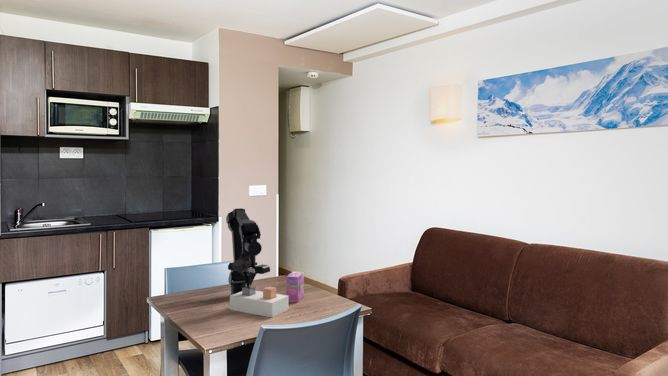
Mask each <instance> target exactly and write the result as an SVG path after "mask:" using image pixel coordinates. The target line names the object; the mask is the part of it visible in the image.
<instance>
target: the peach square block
mask: <svg viewBox="0 0 668 376" xmlns="http://www.w3.org/2000/svg"><path fill="white" fill-rule="evenodd" d="M262 292H263V298H265V299H274V298H276V294H277V287H275V286H270V285H269V286H266V287H263V288H262Z"/></svg>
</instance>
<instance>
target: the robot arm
mask: <svg viewBox="0 0 668 376" xmlns="http://www.w3.org/2000/svg"><path fill="white" fill-rule="evenodd" d="M225 221H226V224H227V228H228V229H229V231H230V232H231V238H232V239H231V242H232V257H233V259H232V260H233V261H232V262H229V263H228V265H227V270H229V271H230V272H229V274H228V279H227V280H228V284H229V285H230V290H231V291H230V295H233V294H236V293H239V292H241V291H242V288H243V287H246V286H247V287H251V286H252V284H253V282H254V279H255V278H256V276H257V275H259V274H260V275H264V274H267V273H270V272H271V267H270V265H268V264H260V265H258V262H256V259H257V256H258V255H260V253H261V252H262V249H263V248H262V245H261V243H260V242H258V240H259V239H260V240H261V235H262V234H261V230H260V227H259V224H257V222H256V221H254V220H252V219H250V217H249V216H248V215H247V213H246V209H245V208H234V209H233V210H231V211H229V212H228V213H227V215H226V217H225ZM230 295H228V297H229V298H230Z"/></svg>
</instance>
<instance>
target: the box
mask: <svg viewBox="0 0 668 376" xmlns="http://www.w3.org/2000/svg"><path fill="white" fill-rule="evenodd" d="M285 292H286V294H285V295H287V296H289V303H299V302H300V301H301V299H303V297H305V272H304V271H291V273H289V274H288V275H287V276H286V291H285Z"/></svg>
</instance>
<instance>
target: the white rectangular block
mask: <svg viewBox="0 0 668 376" xmlns="http://www.w3.org/2000/svg"><path fill="white" fill-rule="evenodd" d="M229 296H230V297H229V310H230V311H235V312H241V313H246V314H252V315H257V316H262V317H268V318H274V317H276V316H278V315H281V314H282V313H284V312H287V311H288V310H290V307H289V303H290V302H289V296H287V295H286V294H280V293H276V298H274V299H265V298H263V291H261V290H255V294H254V295H251V296H246V295H242V291H241V292H239V293H236V294H233V295H231V294H230V295H229Z"/></svg>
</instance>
